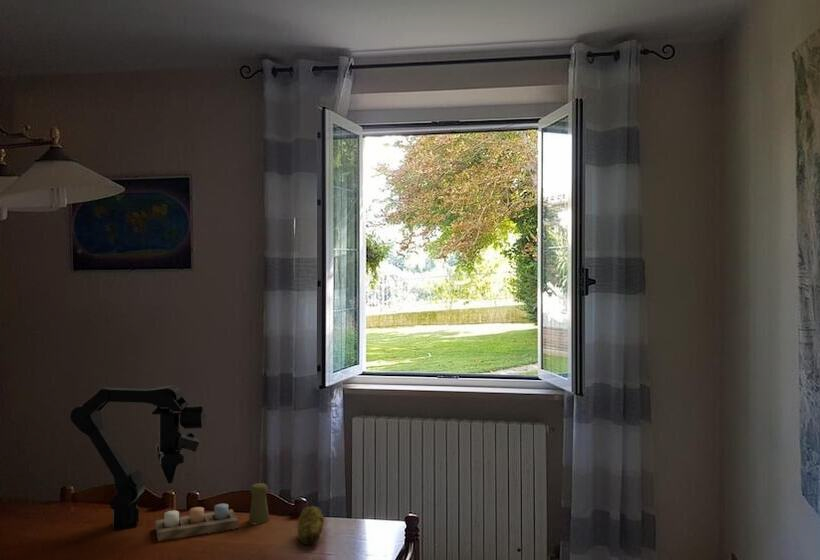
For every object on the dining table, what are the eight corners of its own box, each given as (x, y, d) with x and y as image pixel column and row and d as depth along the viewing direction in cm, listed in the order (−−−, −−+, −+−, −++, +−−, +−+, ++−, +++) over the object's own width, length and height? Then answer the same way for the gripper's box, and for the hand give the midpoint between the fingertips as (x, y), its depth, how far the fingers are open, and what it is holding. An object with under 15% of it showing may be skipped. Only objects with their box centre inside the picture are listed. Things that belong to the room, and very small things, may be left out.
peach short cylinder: (190, 526, 189) (190, 512, 189) (188, 521, 193) (188, 508, 193) (204, 524, 191) (204, 510, 191) (203, 519, 195) (203, 506, 195)
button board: (158, 541, 183) (158, 532, 183) (155, 528, 192) (155, 520, 192) (238, 528, 192) (238, 520, 192) (232, 517, 201) (232, 509, 201)
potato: (287, 546, 179) (287, 517, 179) (303, 529, 192) (303, 501, 192) (316, 549, 178) (316, 519, 178) (331, 531, 191) (331, 503, 191)
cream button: (164, 530, 186) (164, 516, 186) (163, 525, 190) (163, 511, 190) (179, 528, 188) (179, 514, 188) (178, 523, 192) (178, 509, 192)
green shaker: (271, 517, 202) (271, 481, 201) (265, 524, 195) (265, 487, 195) (252, 516, 202) (252, 480, 202) (246, 523, 196) (246, 487, 196)
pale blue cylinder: (215, 522, 192) (215, 509, 192) (213, 518, 196) (213, 504, 196) (229, 520, 194) (229, 507, 194) (227, 516, 198) (227, 502, 198)
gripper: (201, 432, 190) (201, 486, 190) (193, 420, 207) (193, 469, 207) (161, 436, 186) (161, 491, 186) (156, 423, 202) (156, 473, 202)
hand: (169, 480), depth 195 cm, fingers open, 5 cm apart
